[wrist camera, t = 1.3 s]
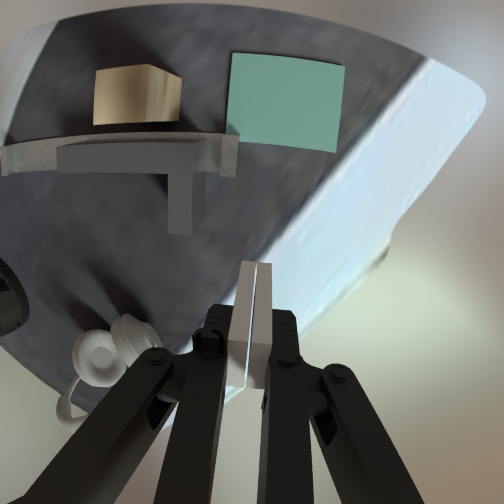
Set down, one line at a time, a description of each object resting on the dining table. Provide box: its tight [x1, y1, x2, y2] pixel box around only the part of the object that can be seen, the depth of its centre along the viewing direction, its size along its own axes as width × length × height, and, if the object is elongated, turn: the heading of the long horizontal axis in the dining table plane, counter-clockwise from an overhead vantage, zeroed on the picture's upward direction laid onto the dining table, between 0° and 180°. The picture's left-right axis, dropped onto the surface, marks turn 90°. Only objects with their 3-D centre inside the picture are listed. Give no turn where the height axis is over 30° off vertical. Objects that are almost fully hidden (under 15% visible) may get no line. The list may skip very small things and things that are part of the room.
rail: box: [0, 132, 240, 178], centre depth 31 cm, size 35×4×2 cm, turn 85°
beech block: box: [93, 64, 182, 125], centre depth 25 cm, size 5×5×10 cm
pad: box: [226, 53, 345, 153], centre depth 29 cm, size 12×10×1 cm
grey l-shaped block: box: [56, 138, 207, 236], centre depth 30 cm, size 16×9×6 cm, turn 85°
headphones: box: [56, 313, 162, 434], centre depth 34 cm, size 19×9×20 cm, turn 117°
